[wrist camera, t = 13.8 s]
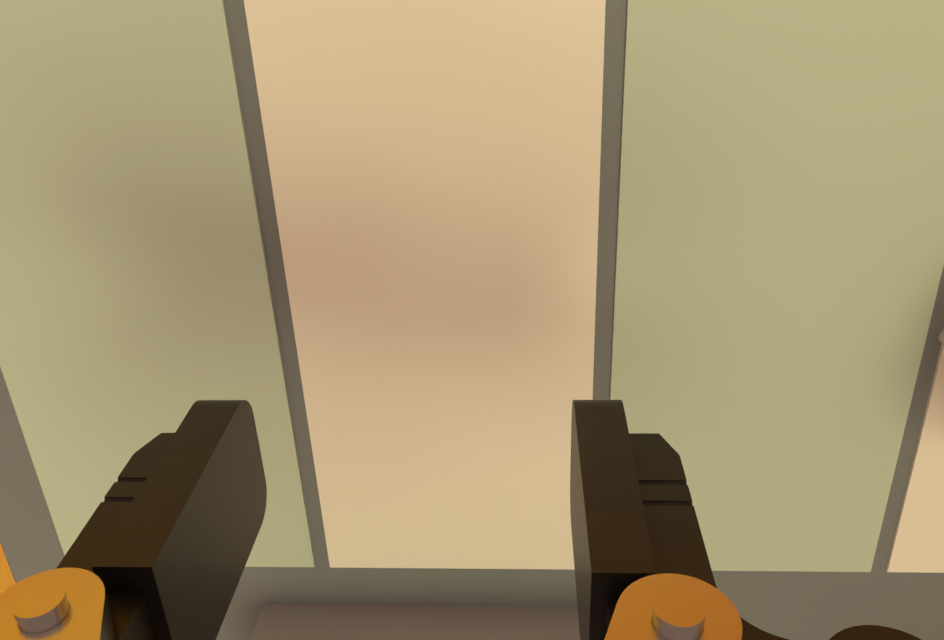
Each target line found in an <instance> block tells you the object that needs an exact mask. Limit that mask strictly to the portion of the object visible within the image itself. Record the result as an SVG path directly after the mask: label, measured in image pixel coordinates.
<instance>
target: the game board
mask: <svg viewBox="0 0 944 640" xmlns="http://www.w3.org/2000/svg"><path fill="white" fill-rule="evenodd" d="M943 329H944V0H0V543H1V546H2V548H3V551H4V554H5V556H6V559H7V561H8V564H9V567H10V569H11V572H12V574H13V577H14V580H15V582H16V583H17V582H19V581H21V580H23V579H25V578H27V577H29V576H32V575H35V574H37V573H40V572H44V571H47V570H51V569H56V568H57V567H58V565H59V564H60V562H61V561H62V559H63V558H64V556H65V555H66V553H67V552H68V550H69V549H70V547H71V546H72V544H73V543H74V541H75V540H76V538H77V537H78V535H79V534H80V532H81V531H82V529H83V528H84V526H85V525H86V524H87V522H88V521H89V519H90V518H91V516H92V515H93V513H94V512H95V510H96V509H97V507H98V506H99V504H100V503H101V502H104V500H105V498H104V497H105V495H106V494H107V492H108V491H109V489H110V488H111V486H112V485H113V483H114V482H117V481H118V476H119V475H120V473H121V472H122V470H123V469H124V467H125V466H126V464H127V463H128V461H129V460H130V458H131V457H132V455H133V454H134V453H135V452H136V451H138V450H139V449H140V448H142V447H143V446H144V445H146V444H147V443H148V442H150V441H151V440H152V439H154V438H155V437H156V436H158V435H159V434H160V433H175V432H176V431H177V429H178V427H179V426H180V424H181V423H182V421H183V419H184V418H185V416H186V415H187V413H188V411H189V410H190V408H191V407H192V405H193V404H194V403H195V402H196V401H198V400H247V401H248V402H249V403H250V405H251V407H252V410H253V414H254V419H255V425H256V430H257V436H258V441H259V446H260V452H261V457H262V462H263V468H264V473H265V479H266V487H267V501H266V510H265V515H264V519H263V523H262V525H261V528H260V530H259V533H258V535H257V538H256V540H255V543H254V545H253V548H252V550H251V553H250V555H249V558H248V560H247V563H246V565H245V568H244V570H243V573H242V575H241V578H240V580H239V583H238V585H237V588H236V590H235V593H234V595H233V598H232V600H231V603H230V605H229V608H228V610H227V613H226V615H225V618H224V620H223V623H222V625H221V628H220V630H219V633H218V635H217V638H216V640H580V631H579V618H578V606H577V593H576V580H575V568H574V555H573V543H572V530H571V513H570V465H571V420H572V401H573V400H622V402H623V406H624V411H625V416H626V421H627V426H628V431H629V433H659V434H660V435H661V436H662V437H663V438H664V439H665V440H666V441H667V442H668V443H669V444H670V445H671V447H672V448H673V449H674V450H675V451H676V452H677V453H678V454H679V455H680V458H681V462H682V465H683V469H684V473H685V476H686V480H687V485H688V487H689V491H690V494H691V498H692V506H694V509H695V512H696V516H697V519H698V523H699V527H700V530H701V534H702V537H703V541H704V544H705V548H706V552H707V555H708V559H709V562H710V566H711V570H712V573H713V577H714V580H715V584H716V586H717V589H718V590H720V591H721V592H722V593H723V594H724V595H726V596H727V598H728V599H729V600H730V601H731V602H732V603H733V605H734V606H735V608H736V609H737V611H738V613H739V615H740V617H741V618H743V619H744V620H745V621H747V622H748V623H750V624H752V625H753V626H755V627H757V628H759V629H761V630H763V631H765V632H768V633H770V634H773V635H776V636H779V637H782V638H785V639H789V640H829V639H830V638H831V637H832V636H834V635H835V634H836V633H838V632H840V631H842V630H843V629H846V628H849V627H853V626H860V625H878V626H885V627H890V628H894V629H897V630H901V631H903V632H906V633H909V634H911V635H913V636H915V637H917V638H919V639H921V640H944V345H943V344H941V342H940V341H939V339H938V337H939V333H940V332H941V331H942V330H943Z"/></svg>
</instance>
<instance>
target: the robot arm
mask: <svg viewBox="0 0 944 640" xmlns="http://www.w3.org/2000/svg"><path fill="white" fill-rule="evenodd" d="M104 498H105V500H104V502H101V503H100V504H99V506H98V507H97V509H96V510H95V512H94V513H93V515H92V516H91V518H90V519H89V521H88V522H87V524H86V525H85V526H84V528H83V529H82V531H81V532H80V534H79V535H78V537H77V538H76V540H75V541H74V543H73V544H72V546H71V547H70V549H69V550H68V552H67V553H66V555H65V556H64V558H63V559H62V561H61V562H60V564H59V565H58V567H57V568H56V569H51V570H47V571H44V572H40V573H37V574H35V575H32V576H29V577H27V578H25V579H23V580H21V581H19V582H17V583H16V584H14V585H12V586H11V587H9V588H8V589H6V590H5V591H4V592H2V593H1V594H0V640H216V638H217V635H218V633H219V630H220V628H221V625H222V623H223V620H224V618H225V615H226V613H227V610H228V608H229V605H230V603H231V600H232V598H233V595H234V593H235V590H236V588H237V585H238V583H239V580H240V578H241V575H242V573H243V570H244V568H245V565H246V563H247V560H248V558H249V555H250V553H251V550H252V548H253V545H254V543H255V540H256V538H257V535H258V533H259V530H260V528H261V525H262V523H263V519H264V515H265V510H266V501H267V487H266V479H265V473H264V468H263V462H262V457H261V452H260V446H259V441H258V436H257V430H256V425H255V419H254V414H253V410H252V407H251V405H250V403H249V402H248V401H247V400H198V401H196V402H195V403H194V404H193V405H192V407H191V408H190V410H189V411H188V413H187V415H186V416H185V418H184V419H183V421H182V423H181V424H180V426H179V427H178V429H177V431H176V432H175V433H160V434H159V435H158V436H156V437H155V438H154V439H152V440H151V441H150V442H148V443H147V444H146V445H144V446H143V447H142V448H140V449H139V450H138V451H136V452H135V453H134V454H133V455H132V457H131V458H130V460H129V461H128V463H127V464H126V466H125V467H124V469H123V470H122V472H121V473H120V475H119V476H118V481H117V482H114V483H113V485H112V486H111V488H110V489H109V491H108V492H107V494H106V495H105V497H104ZM570 513H571V530H572V543H573V555H574V568H575V580H576V593H577V606H578V618H579V631H580V640H789V639H785V638H782V637H779V636H776V635H773V634H770V633H768V632H765V631H763V630H761V629H759V628H757V627H755V626H753V625H752V624H750V623H748V622H747V621H745V620H744V619H743V618H741V617H740V615H739V613H738V611H737V609H736V608H735V606H734V605H733V603H732V602H731V601H730V600H729V599H728V598H727V596H726V595H724V594H723V593H722V592H721V591H720V590H718V589H717V586H716V584H715V580H714V577H713V573H712V570H711V566H710V562H709V559H708V555H707V552H706V548H705V544H704V541H703V537H702V534H701V530H700V527H699V523H698V519H697V516H696V512H695V509H694V506H692V498H691V494H690V491H689V487H688V485H687V480H686V476H685V473H684V469H683V465H682V462H681V458H680V455H679V454H678V453H677V452H676V451H675V450H674V449H673V448H672V447H671V445H670V444H669V443H668V442H667V441H666V440H665V439H664V438H663V437H662V436H661V435H660V434H659V433H629V431H628V426H627V421H626V416H625V411H624V406H623V402H622V400H573V401H572V420H571V465H570ZM829 640H921V639H919V638H917V637H915V636H913V635H911V634H909V633H906V632H903V631H901V630H897V629H894V628H890V627H885V626H878V625H860V626H853V627H849V628H846V629H843V630H842V631H840V632H838V633H836V634H835V635H834V636H832V637H831V638H830V639H829Z"/></svg>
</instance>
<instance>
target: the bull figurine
mask: <svg viewBox="0 0 944 640" xmlns="http://www.w3.org/2000/svg"><path fill="white" fill-rule="evenodd" d="M938 339H939V341H940V342H941V344H943V345H944V329H943V330H942V331H941V332H940V333H939V337H938Z"/></svg>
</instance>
